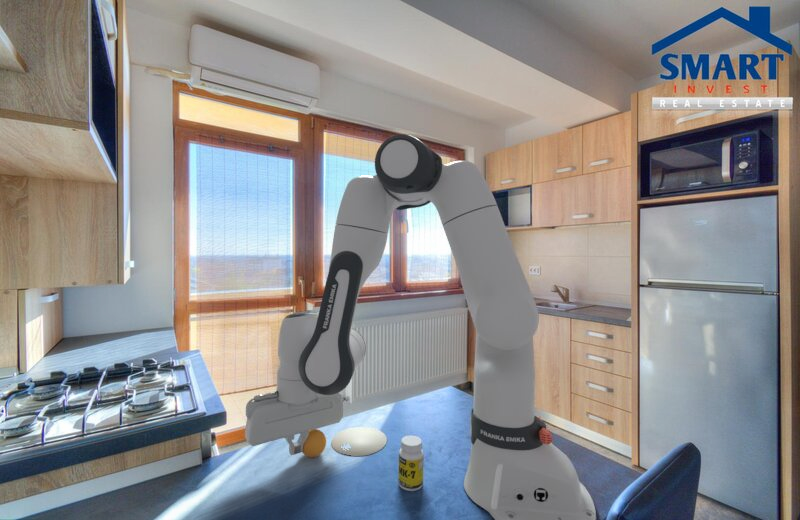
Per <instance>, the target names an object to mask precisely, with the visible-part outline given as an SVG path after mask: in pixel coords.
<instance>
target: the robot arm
mask: <svg viewBox="0 0 800 520" xmlns="http://www.w3.org/2000/svg"><path fill="white" fill-rule="evenodd" d="M374 171H375V175H361V176H356V177H353V178H352V179H351V180H349V182H348V183H347V185H346V187H345V189H344V191H343V195H342V197H341V200H340V203H339V204H340V205H339V208H338V211H337V216H336V221H335V226H334V231H333V238H332V245H331V246H332V248H331V254H330V261H329V266H328V273H327V278H326V281H325V286H324V290H323V293H322V299H321V303H320V306H319V311H318V310H314V309H312V310H303V311H298V312H293V313H290V314H288V315H286V316H285V317H284V318H283V319H282V321H281V324H280V329H279V335H278V348H277V357H278V361H279V365H278V366H279V367H278V369H277V371H276V391H271V392H268V393H265V394H257V395H254V397H253V398H251V399H249V400H248V401H247V403H246V405H245V417H246V421H245V422H246V423H245V430H244V437H245V440H246V442H247V443H248V444H249V445H250V446H252V447H256V446H260V445H263V444H266V443H270V442H273V441H277V440H281V439H285V441H286V442H287V444H288V447H289V448H288V452H289V454H290V456H294V455H297V454H300V453H302V452H303V444H304V443H305V441H306V439H307V437H308V436H309V431H310V430H314V429H320V428H324V427H328V426H330V425H334V424H335V425H336V424H339V423H340V422H341V421H342V419H343V418H344V400H343V396H342V394H341V392H342V391H343V390H345V389H346V388H347V386H348V385H349V384H350V382H351V380H352V378H353V375H354V374H355V373H356V371H357V369H358V368H359V366H360V365H361V363H362V362H363V360H364V359H365V355H366V349H367V347H366V342H365V340H364V338H363V336H362V334H360V332H359V331H357V330H355V329H354V328H352V327H353V322H354V318H355V312H356V308H357V303H358V299H359V295H360V293H361V290H362V288H363V286H364V284H365V283H366V282H367V280H368V278H369V277H370V276H371V274H372V273H374V271H375V270H376V269H377V267H379V266H380V263H381V261H382V259H383V255H384V253H385V250H386V245H387V242H388V235H389V230H390V223H391V219H392V215H393V213H394V211H395V210H398V211H401V210H407V209H408V210H409V209H415V208H422V207H424V206H427V205H428V204H430V203H432V204H433V206H434V207H435V209H436V211H437V214H438V216H439V218H440V221H441V224H442V228H443V230H444V233H445V236H446V240H447V242H448V245H449V247H450V250H451V253H452V255H453V259H454V262H455V264H456V268H457V271H458V276H459V279H460V283H461V286H462V291H463V294H464V296H465V297H464V298H465V300H466V304H467V307H468V311H469V314H470V317H471V320H472V323H473V327H474V329H475V330H476V331H475V333H476V334H475V345H474V346H475V349H474V365H473V366H474V367H473V408H471V414H470V420H469V421H470V422H469V423H470V425H469V436H470V442H471V447H470V448H471V449H470V454H469V460H468V464H467V468H466V469H467V470H466V474H465V477H464V479H463V488H464V490H465V493H466V494H467V496H468V497H469V498H470V500H472V501H473V502H474V503H475V504H476V505H478V506H479V507H481V508H483V509H484V510H485V511H486V512H488V513H489V514H490V516H491V517H492V518H493V519H494V520H597V511H596V507H595V504H594V501H593V498H592V496H591V495H590V493H589V491H588V490H587V488H586V487H585V486H584V484H583V483H582V482H581V481H580V479H579V476H578V473H577V470H576V468H575V466H574V464H573V463H572V460H571V459H570V458H569V457H568V456H567V455H566V454H565V453H564V452H563V451H562V450H560V449H559V448H558V447H557V446H555V445H554V443H553V440H554V439H553V436H552V434H551V431H550V430H549V429H547V424H546V423H545V422H544V421H543V419H542V417H541V415H538V416H536V415H535V405H536V404H535V403H536V401H535V400H536V399H535V398H536V395H535V394H536V372H535V354H534V353H535V352H534V351H535V350H534V336H535V334H536V333H537V330H538V329H539V328H538V327H539V324H540V315H539V308H538V306H537V303H536V301H535V299H534V295H533V294H532V291H531V288H530V285H529V284H528V281H527V278H526V276H525V273H524V270H523V267H522V265H521V263H520V261H519V258H518V256H517V254H516V251H515V249H514V247H513V243H512V241H511V239H510V236H509V233H508V231H507V228H506V225H505V222H504V220H503V216H502V213H501V212H500V209H499V207H498V203H497V201H496V198H495V196H494V194H493V192H492V190H491V188H490V186H489V184H488V182H487V180H486V179H485V177H484V175H483V174H482V172H481V171H480V169H479V167H478V166H477V165H476V164H475V163H473V162H472V161H469V160H456V161H452V162H450V163H446V164H445V163H443V159H442V157H441V155H439V154H438V153H437V152H436V151H435V150H433V149H432V148H431V147H429V146H428V145H427V144H426V143H424V142H423V141H421V140H420V139H418V138H417V137H415V136H412V135H409V134H406V133H405V134H400V133H399V134H395V135H393V136H390V137H389V138H386V140H384V141H383V142H382V144H380V145H379V147H378V149H377V151H376V154H375V157H374ZM298 434H299V437H298V439H297V441H295V442H293V440H295V435H298Z"/></svg>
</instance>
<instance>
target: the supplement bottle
mask: <svg viewBox="0 0 800 520" xmlns="http://www.w3.org/2000/svg"><path fill="white" fill-rule="evenodd" d="M422 448H423V441H422V439H421V437H419V436H416V435H405V436H403V437H402V438H401V440H400V449H399V451H398V475H397V476H398V479H397V480H398V481H397V482H398V486H399V487H400V488H401V489H402V490H404V491H409V492H415V491H418V490H420V489H422V488H423V485H424V459H425V458H424V456H425V455H424V450H423V449H422Z"/></svg>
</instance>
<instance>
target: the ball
mask: <svg viewBox="0 0 800 520" xmlns="http://www.w3.org/2000/svg"><path fill="white" fill-rule="evenodd" d="M326 446H327V437H326V436H325V434H324V432H323V431H322V430H320V429H319V428H317V429H314V430H310V431H309V436H308V437H307V439H306V441H305V443H304V444H303V452H301V453H302V454H303V455H304V456H306V457H308V458H316V457H319V456H320V455H321V454H322V453H323V452H324V450H325V448H326Z"/></svg>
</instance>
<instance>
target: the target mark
mask: <svg viewBox="0 0 800 520" xmlns="http://www.w3.org/2000/svg"><path fill="white" fill-rule="evenodd" d="M387 440H388V439H387V436H386V434H385V433H384V432H383V431H381V430H379V429H377V428H373V427H369V426H368V427H367V426H357V427H356V426H355V427H349V428H345V429H343V430H341V431H339V432H338V433H336V434H335V435H334V436H333V437H332V439H331V446H332V447H331V448H332V449H334V451H336V452H337V453H339V452H340V453H339V454H341V453H343V454H342V455H344V454H347V455H346V456H348V455H351V456H350V457H363V456H364V457H365V456H369V455H373V454H376V453H378V452H380V451H382V449H384V448H385V446H386V444H387ZM348 443H349V445H350V447H351V448H348V449H349V450H347V449H345V448H344V449H345V450H346V451H345V450H343V448H341V446H342V447H343V446H344V444H345V446H346V445H347V444H348Z"/></svg>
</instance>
